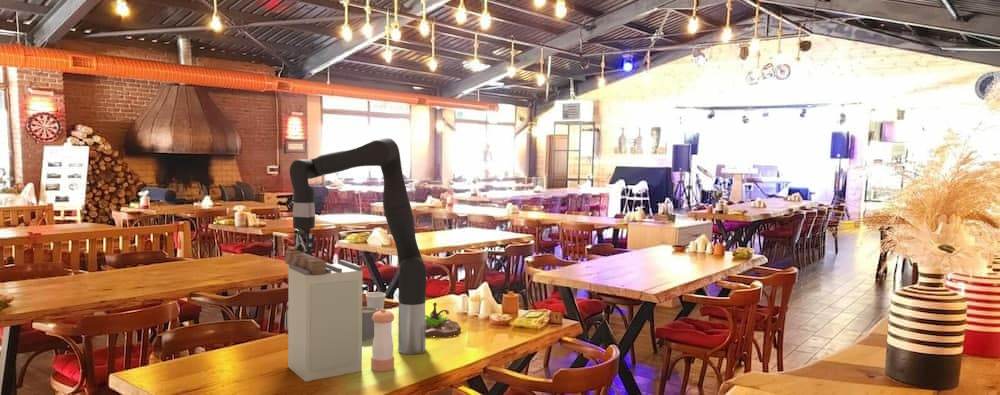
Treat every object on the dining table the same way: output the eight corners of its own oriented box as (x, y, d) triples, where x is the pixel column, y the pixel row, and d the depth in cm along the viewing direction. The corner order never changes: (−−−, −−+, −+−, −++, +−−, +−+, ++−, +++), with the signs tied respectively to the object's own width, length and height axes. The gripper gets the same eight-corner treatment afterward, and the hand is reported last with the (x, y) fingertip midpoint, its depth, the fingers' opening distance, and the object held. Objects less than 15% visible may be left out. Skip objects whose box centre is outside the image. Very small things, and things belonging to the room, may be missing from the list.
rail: (285, 263, 212) (285, 251, 212) (297, 262, 215) (297, 250, 214) (312, 275, 191) (312, 262, 191) (325, 274, 194) (325, 261, 193)
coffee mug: (381, 337, 242) (381, 310, 242) (355, 340, 237) (355, 313, 237) (369, 328, 254) (369, 303, 253) (344, 331, 249) (344, 306, 248)
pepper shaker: (373, 363, 211) (374, 306, 209) (396, 364, 210) (396, 306, 209) (368, 371, 203) (369, 311, 202) (391, 371, 203) (392, 311, 202)
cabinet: (288, 367, 206) (288, 263, 204) (341, 357, 216) (342, 259, 214) (306, 382, 192) (306, 271, 190) (362, 371, 203) (363, 267, 201)
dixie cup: (375, 321, 266) (375, 297, 265) (361, 318, 270) (361, 294, 270) (389, 317, 273) (389, 293, 272) (375, 314, 277) (375, 291, 277)
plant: (460, 325, 264) (460, 298, 263) (461, 338, 244) (461, 309, 244) (411, 325, 262) (411, 298, 262) (407, 338, 243) (408, 309, 242)
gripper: (287, 213, 234) (286, 258, 235) (300, 217, 223) (300, 263, 223) (307, 213, 238) (307, 256, 239) (321, 216, 227) (321, 262, 228)
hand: (303, 260), depth 231 cm, fingers open, 8 cm apart
